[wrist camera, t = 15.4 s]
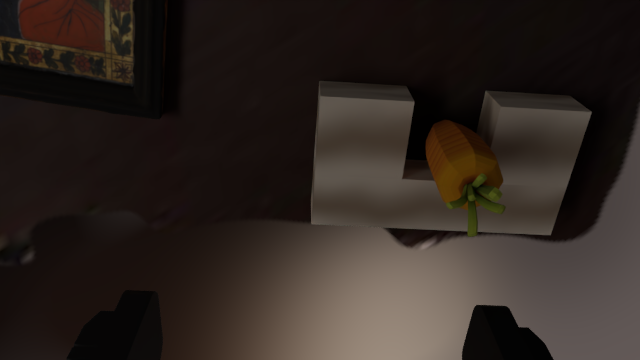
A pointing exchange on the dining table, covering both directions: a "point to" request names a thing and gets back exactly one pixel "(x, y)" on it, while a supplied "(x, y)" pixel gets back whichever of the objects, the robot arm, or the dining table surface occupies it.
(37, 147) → the dining table surface
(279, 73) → the dining table surface
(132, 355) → the robot arm
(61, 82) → the framed painting
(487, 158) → the carrot
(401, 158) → the notched board
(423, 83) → the dining table surface
